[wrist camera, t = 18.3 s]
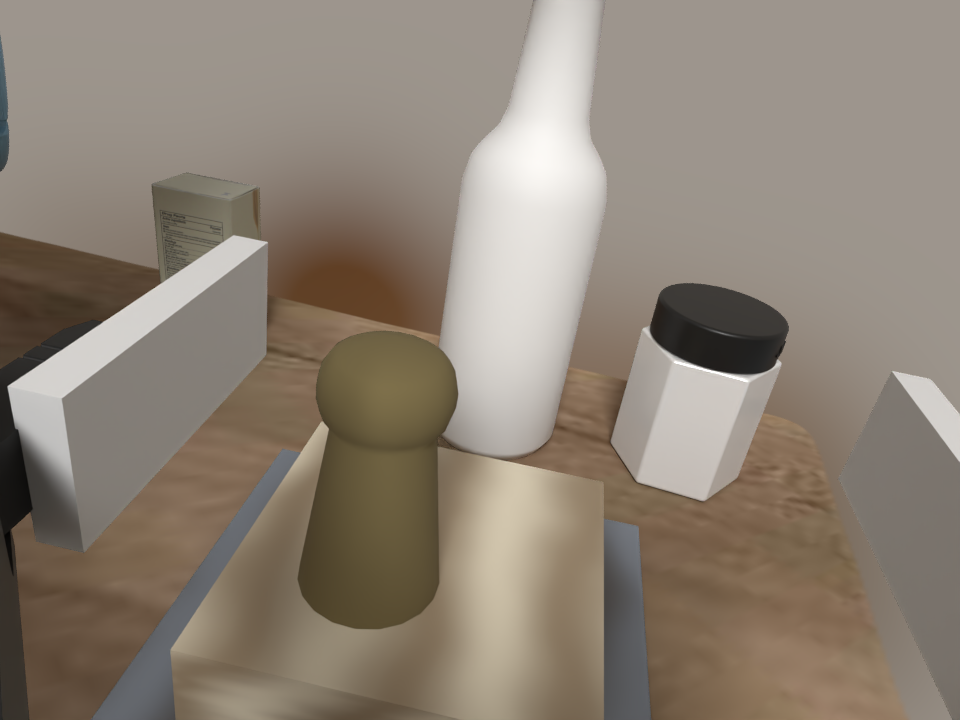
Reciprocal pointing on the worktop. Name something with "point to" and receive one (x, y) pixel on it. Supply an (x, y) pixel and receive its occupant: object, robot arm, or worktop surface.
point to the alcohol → (526, 241)
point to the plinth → (423, 639)
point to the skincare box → (200, 217)
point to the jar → (698, 388)
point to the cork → (378, 480)
